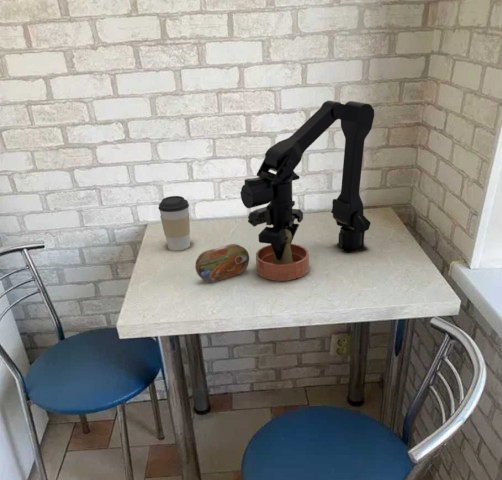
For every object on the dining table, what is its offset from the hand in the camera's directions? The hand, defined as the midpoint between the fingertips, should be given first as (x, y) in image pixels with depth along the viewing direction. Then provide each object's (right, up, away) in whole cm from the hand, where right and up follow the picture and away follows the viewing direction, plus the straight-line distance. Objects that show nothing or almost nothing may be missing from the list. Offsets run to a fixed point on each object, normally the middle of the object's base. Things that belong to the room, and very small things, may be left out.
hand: (282, 255), depth 143 cm
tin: (-16, -6, +1) cm, 17 cm away
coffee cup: (-31, +6, +21) cm, 37 cm away
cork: (0, -3, +2) cm, 4 cm away
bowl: (0, -4, +2) cm, 4 cm away
